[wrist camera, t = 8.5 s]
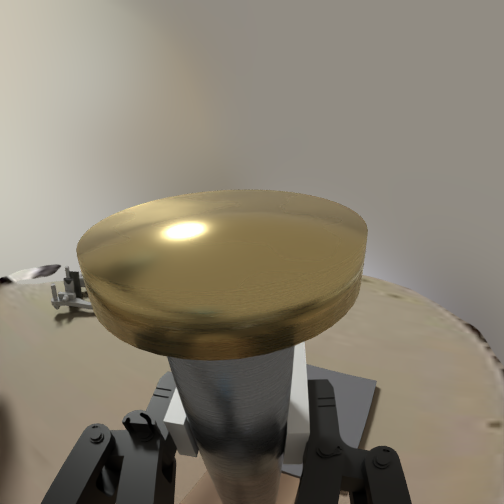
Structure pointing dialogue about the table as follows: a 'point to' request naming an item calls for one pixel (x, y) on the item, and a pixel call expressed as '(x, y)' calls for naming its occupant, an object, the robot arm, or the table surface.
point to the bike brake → (70, 292)
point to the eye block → (207, 500)
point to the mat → (343, 407)
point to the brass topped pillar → (227, 309)
